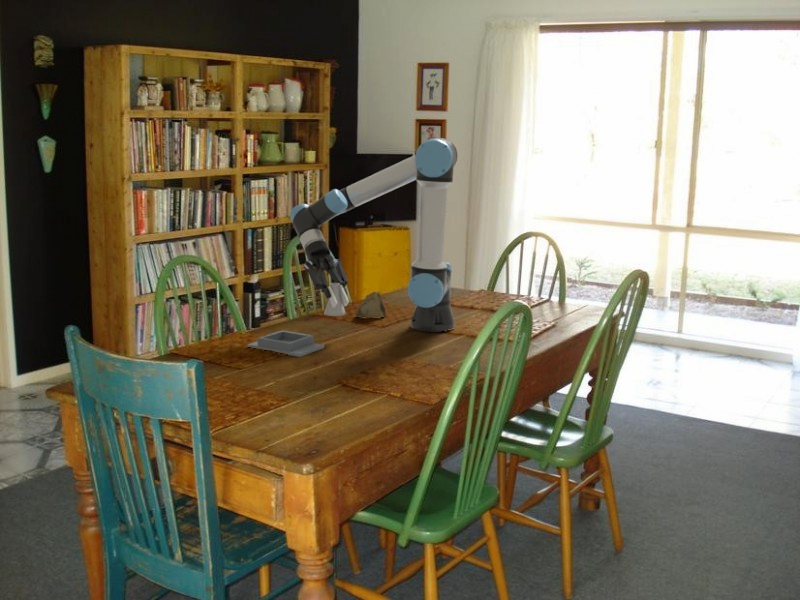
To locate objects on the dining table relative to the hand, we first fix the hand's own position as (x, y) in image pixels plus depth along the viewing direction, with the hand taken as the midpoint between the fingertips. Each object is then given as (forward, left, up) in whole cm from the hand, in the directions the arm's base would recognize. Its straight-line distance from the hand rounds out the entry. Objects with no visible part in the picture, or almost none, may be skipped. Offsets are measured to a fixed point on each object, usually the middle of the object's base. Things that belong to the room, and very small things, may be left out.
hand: (341, 304), depth 290 cm
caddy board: (+11, +14, -13) cm, 22 cm away
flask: (+3, -2, -4) cm, 6 cm away
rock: (+12, -38, -13) cm, 42 cm away
